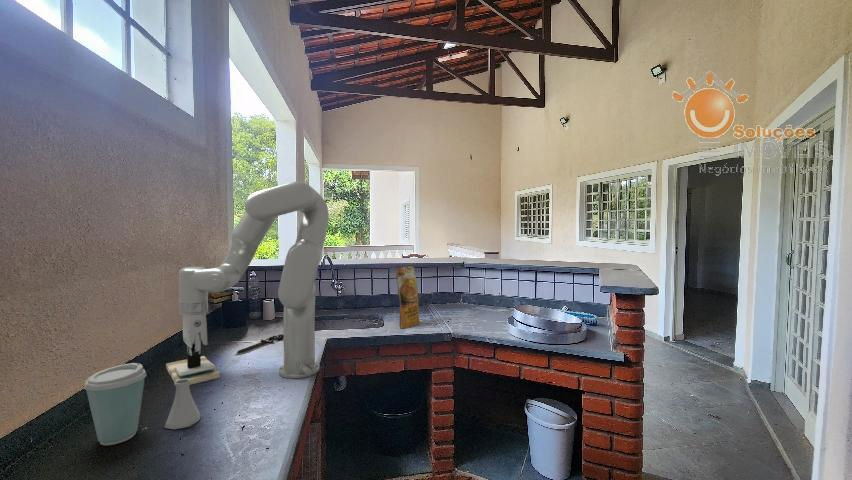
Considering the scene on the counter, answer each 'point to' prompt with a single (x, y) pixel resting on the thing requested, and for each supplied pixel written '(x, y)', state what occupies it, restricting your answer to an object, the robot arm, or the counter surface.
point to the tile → (186, 371)
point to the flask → (182, 407)
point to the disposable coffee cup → (116, 401)
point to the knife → (260, 344)
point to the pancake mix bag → (407, 296)
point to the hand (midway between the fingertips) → (194, 366)
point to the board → (194, 377)
